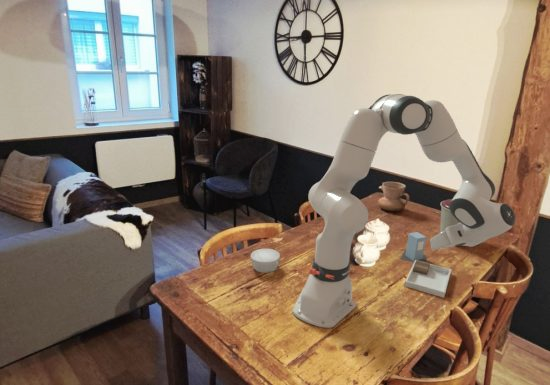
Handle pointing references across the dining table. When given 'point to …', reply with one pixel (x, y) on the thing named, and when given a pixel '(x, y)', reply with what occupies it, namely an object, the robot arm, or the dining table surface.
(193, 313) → the dining table surface
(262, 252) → the ramekin
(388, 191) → the ceramic jug
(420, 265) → the walnut block
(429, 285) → the tray
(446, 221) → the canister
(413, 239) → the blue box
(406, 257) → the mat
